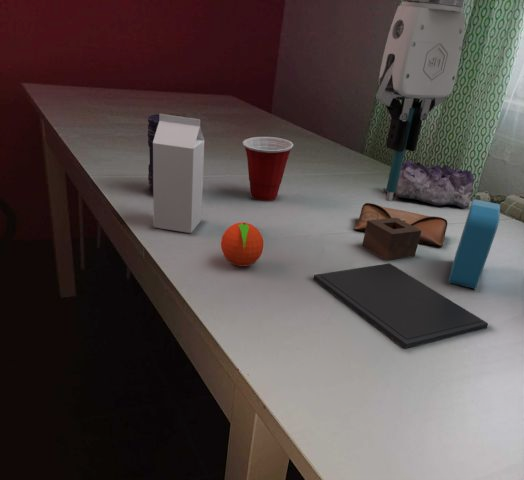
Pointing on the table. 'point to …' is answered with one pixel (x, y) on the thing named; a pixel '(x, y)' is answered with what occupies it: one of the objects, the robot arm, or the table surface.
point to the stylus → (397, 164)
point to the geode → (435, 184)
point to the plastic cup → (266, 165)
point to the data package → (475, 243)
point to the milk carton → (178, 173)
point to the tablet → (400, 304)
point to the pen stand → (391, 238)
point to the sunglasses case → (428, 225)
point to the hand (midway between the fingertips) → (400, 148)
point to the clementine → (242, 244)
